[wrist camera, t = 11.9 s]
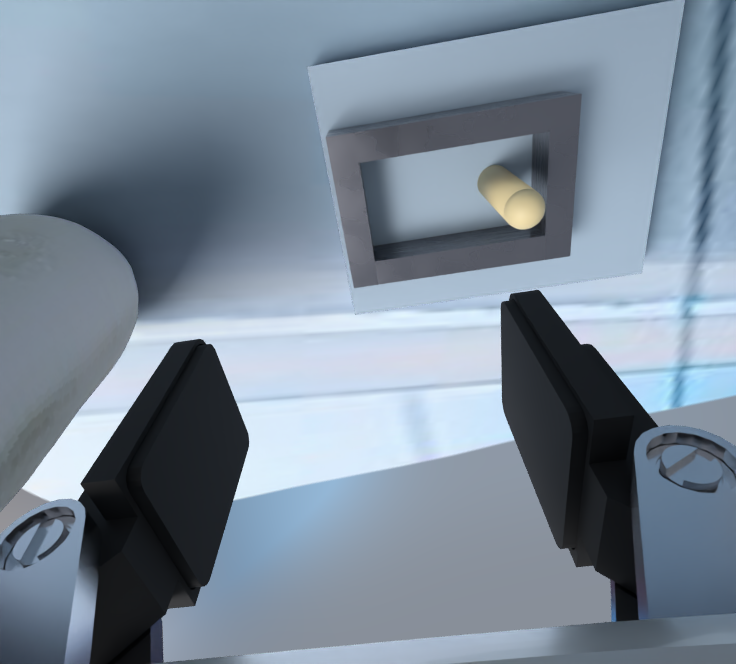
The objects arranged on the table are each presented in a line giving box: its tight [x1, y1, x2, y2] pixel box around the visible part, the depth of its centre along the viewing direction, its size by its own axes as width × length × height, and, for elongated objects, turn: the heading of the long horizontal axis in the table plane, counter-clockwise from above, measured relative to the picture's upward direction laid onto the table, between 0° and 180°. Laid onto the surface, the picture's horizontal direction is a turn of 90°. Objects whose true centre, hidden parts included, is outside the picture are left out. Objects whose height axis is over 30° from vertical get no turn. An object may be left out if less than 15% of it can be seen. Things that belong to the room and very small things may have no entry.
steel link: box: [326, 91, 582, 288], centre depth 25 cm, size 12×8×2 cm, turn 99°
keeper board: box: [307, 0, 685, 315], centre depth 24 cm, size 18×14×8 cm
